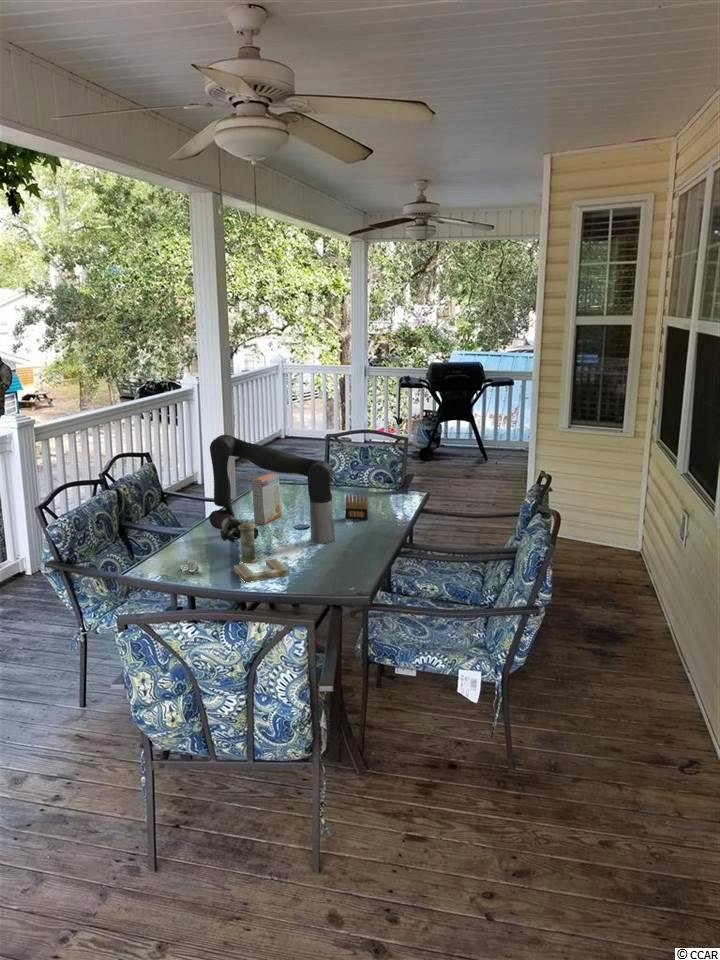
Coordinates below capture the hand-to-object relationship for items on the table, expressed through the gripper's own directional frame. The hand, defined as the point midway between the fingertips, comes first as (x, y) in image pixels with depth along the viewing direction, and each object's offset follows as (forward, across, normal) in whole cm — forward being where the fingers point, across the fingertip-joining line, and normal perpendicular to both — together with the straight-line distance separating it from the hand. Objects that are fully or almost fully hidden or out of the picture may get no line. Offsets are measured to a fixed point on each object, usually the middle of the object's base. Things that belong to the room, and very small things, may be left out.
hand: (244, 538), depth 272 cm
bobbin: (+4, 0, +8) cm, 9 cm away
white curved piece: (+1, -21, +9) cm, 23 cm away
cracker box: (-46, +25, +8) cm, 53 cm away
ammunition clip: (-28, +62, +8) cm, 69 cm away
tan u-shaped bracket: (+19, 0, +8) cm, 20 cm away
